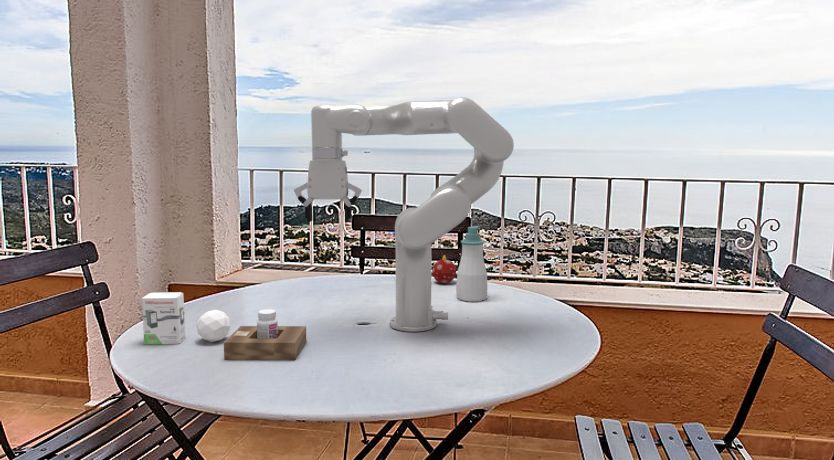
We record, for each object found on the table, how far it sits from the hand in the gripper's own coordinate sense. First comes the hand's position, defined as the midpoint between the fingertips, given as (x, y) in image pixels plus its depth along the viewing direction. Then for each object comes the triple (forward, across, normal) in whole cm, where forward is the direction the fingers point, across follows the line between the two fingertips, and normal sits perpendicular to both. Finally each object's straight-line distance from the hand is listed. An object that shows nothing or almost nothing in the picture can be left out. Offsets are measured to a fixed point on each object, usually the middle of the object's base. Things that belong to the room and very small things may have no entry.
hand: (328, 221), depth 146 cm
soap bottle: (+28, -40, -30) cm, 58 cm away
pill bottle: (+28, +12, +18) cm, 35 cm away
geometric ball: (+28, +27, +11) cm, 41 cm away
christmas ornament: (+28, -32, -51) cm, 67 cm away
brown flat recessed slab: (+28, +12, +18) cm, 36 cm away
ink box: (+28, +39, +12) cm, 50 cm away
